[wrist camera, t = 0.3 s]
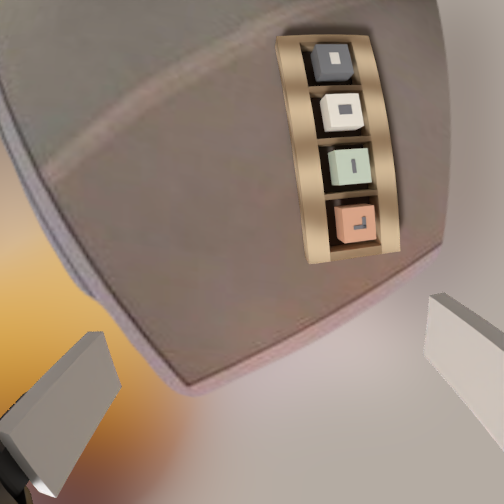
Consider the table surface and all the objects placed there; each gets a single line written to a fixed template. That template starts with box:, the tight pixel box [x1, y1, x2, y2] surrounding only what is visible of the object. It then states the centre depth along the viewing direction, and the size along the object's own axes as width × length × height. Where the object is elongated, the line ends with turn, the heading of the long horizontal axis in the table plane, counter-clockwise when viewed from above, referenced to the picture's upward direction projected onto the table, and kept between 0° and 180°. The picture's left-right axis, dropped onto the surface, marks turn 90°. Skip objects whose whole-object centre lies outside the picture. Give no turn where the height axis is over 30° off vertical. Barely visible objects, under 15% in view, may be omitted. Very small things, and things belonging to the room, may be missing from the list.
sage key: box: [328, 148, 372, 185], centre depth 31 cm, size 4×4×3 cm
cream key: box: [320, 93, 364, 132], centre depth 30 cm, size 4×4×3 cm
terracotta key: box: [334, 203, 376, 243], centre depth 33 cm, size 4×4×3 cm
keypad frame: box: [275, 35, 400, 264], centre depth 32 cm, size 26×11×3 cm, turn 8°
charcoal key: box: [311, 44, 354, 82], centre depth 29 cm, size 4×4×3 cm
